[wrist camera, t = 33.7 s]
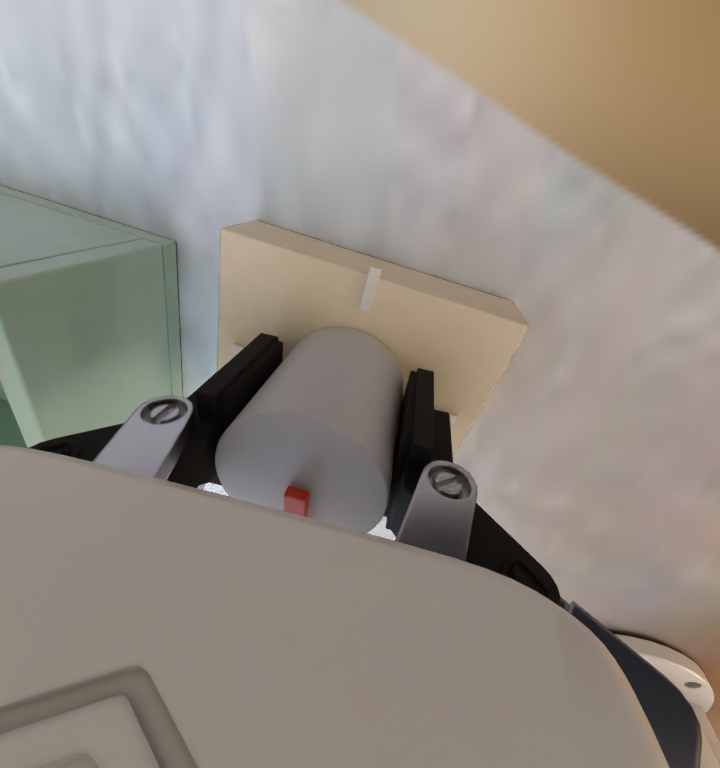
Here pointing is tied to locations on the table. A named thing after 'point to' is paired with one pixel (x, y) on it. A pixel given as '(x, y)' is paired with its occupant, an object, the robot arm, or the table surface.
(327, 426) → the tap knob
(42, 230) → the green open box
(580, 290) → the table surface
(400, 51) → the table surface
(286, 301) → the panel
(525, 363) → the table surface
